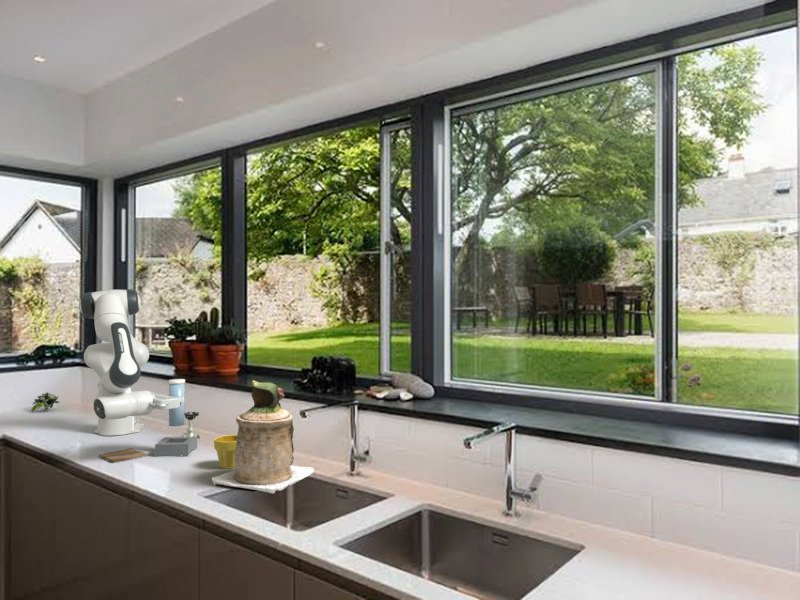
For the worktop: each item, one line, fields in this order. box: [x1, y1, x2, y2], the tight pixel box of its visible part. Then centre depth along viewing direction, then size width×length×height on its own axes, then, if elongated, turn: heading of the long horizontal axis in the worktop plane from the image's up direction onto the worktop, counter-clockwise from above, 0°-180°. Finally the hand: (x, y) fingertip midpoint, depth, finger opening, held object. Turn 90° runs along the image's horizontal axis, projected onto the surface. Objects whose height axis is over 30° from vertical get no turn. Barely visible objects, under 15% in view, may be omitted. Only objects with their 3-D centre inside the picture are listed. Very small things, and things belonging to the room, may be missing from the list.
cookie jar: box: [211, 380, 315, 494], centre depth 194 cm, size 25×25×32 cm
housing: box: [154, 436, 198, 457], centre depth 227 cm, size 12×12×4 cm
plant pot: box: [213, 434, 238, 469], centre depth 209 cm, size 10×10×10 cm
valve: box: [180, 411, 201, 444], centre depth 242 cm, size 7×7×12 cm
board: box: [98, 447, 147, 464], centre depth 221 cm, size 12×12×1 cm
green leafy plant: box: [30, 391, 60, 413], centre depth 310 cm, size 11×11×12 cm
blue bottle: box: [168, 378, 186, 427], centre depth 227 cm, size 6×6×17 cm
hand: (178, 398), depth 228 cm, fingers closed on blue bottle, 5 cm apart
